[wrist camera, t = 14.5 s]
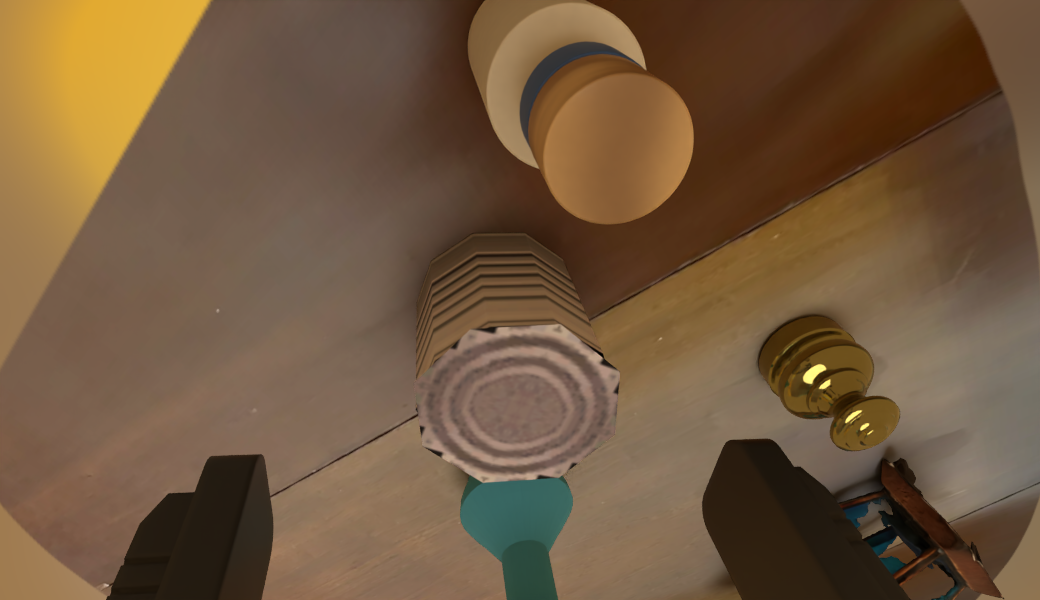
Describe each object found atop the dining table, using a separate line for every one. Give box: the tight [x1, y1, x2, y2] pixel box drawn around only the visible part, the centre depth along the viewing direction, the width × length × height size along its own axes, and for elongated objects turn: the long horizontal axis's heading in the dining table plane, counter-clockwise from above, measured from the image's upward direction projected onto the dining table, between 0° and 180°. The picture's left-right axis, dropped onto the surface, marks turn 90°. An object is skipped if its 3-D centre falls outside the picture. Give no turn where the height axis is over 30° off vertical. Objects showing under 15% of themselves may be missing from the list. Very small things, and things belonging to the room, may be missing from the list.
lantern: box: [838, 458, 1004, 600], centre depth 59 cm, size 16×16×25 cm
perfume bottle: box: [460, 475, 573, 600], centre depth 45 cm, size 9×9×15 cm
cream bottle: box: [468, 0, 646, 169], centre depth 27 cm, size 7×7×16 cm
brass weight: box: [759, 316, 900, 451], centre depth 45 cm, size 7×7×10 cm
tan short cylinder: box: [528, 54, 694, 224], centre depth 19 cm, size 5×5×3 cm
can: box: [414, 233, 620, 483], centre depth 37 cm, size 11×11×12 cm
